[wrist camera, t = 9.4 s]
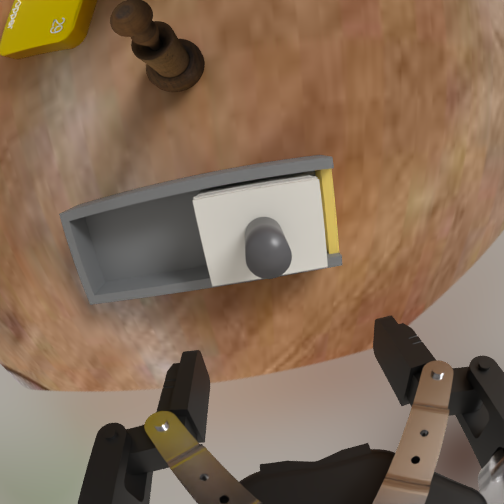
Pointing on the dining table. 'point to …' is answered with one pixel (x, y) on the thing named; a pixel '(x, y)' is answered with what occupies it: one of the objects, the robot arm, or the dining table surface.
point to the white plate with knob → (262, 228)
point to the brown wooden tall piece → (158, 47)
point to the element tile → (45, 26)
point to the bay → (168, 232)
